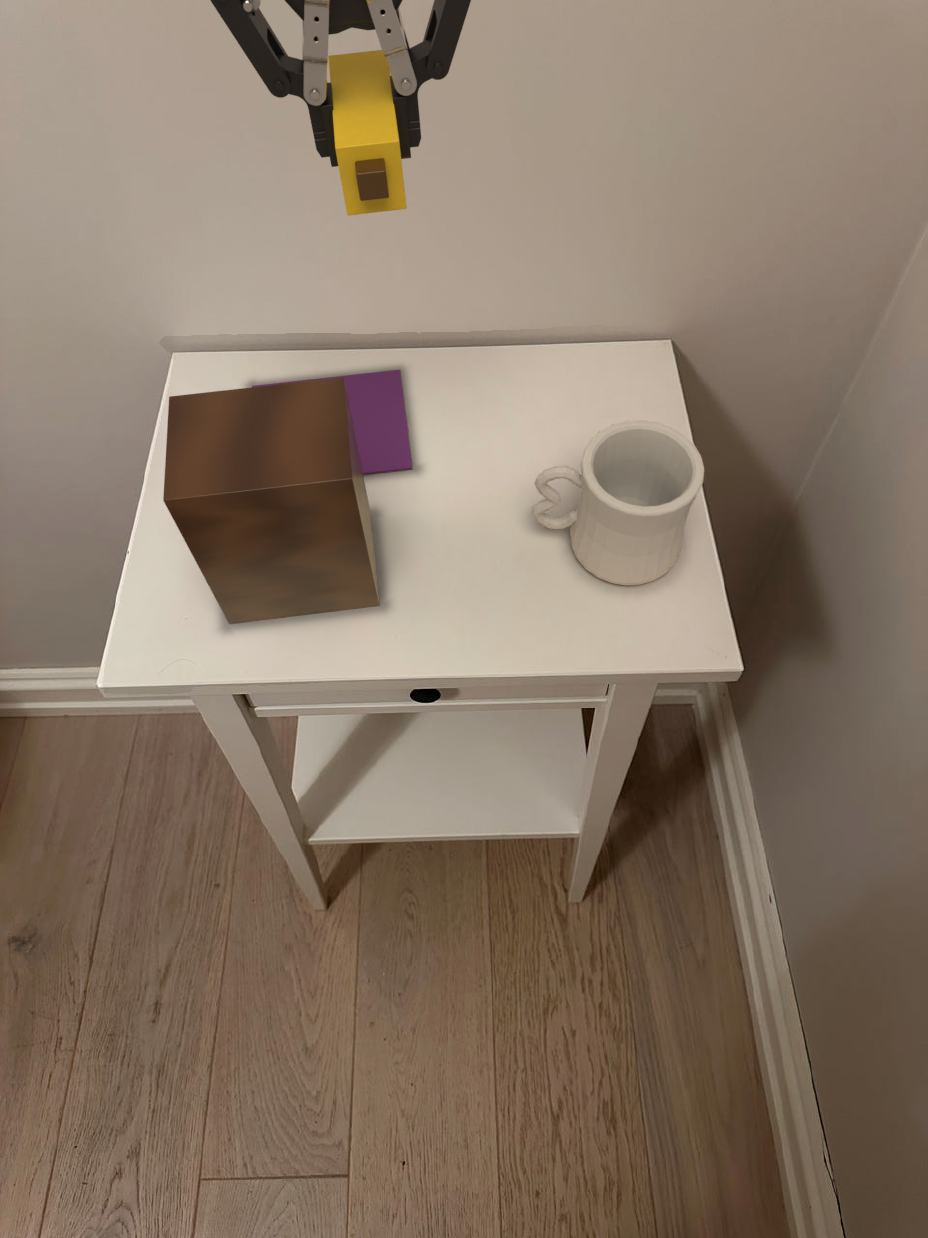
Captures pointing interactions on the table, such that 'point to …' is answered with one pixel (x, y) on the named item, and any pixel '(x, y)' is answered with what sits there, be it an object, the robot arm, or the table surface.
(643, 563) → the mug
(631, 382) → the table surface
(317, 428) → the block
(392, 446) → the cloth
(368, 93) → the yellow brick
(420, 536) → the table surface
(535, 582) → the table surface
